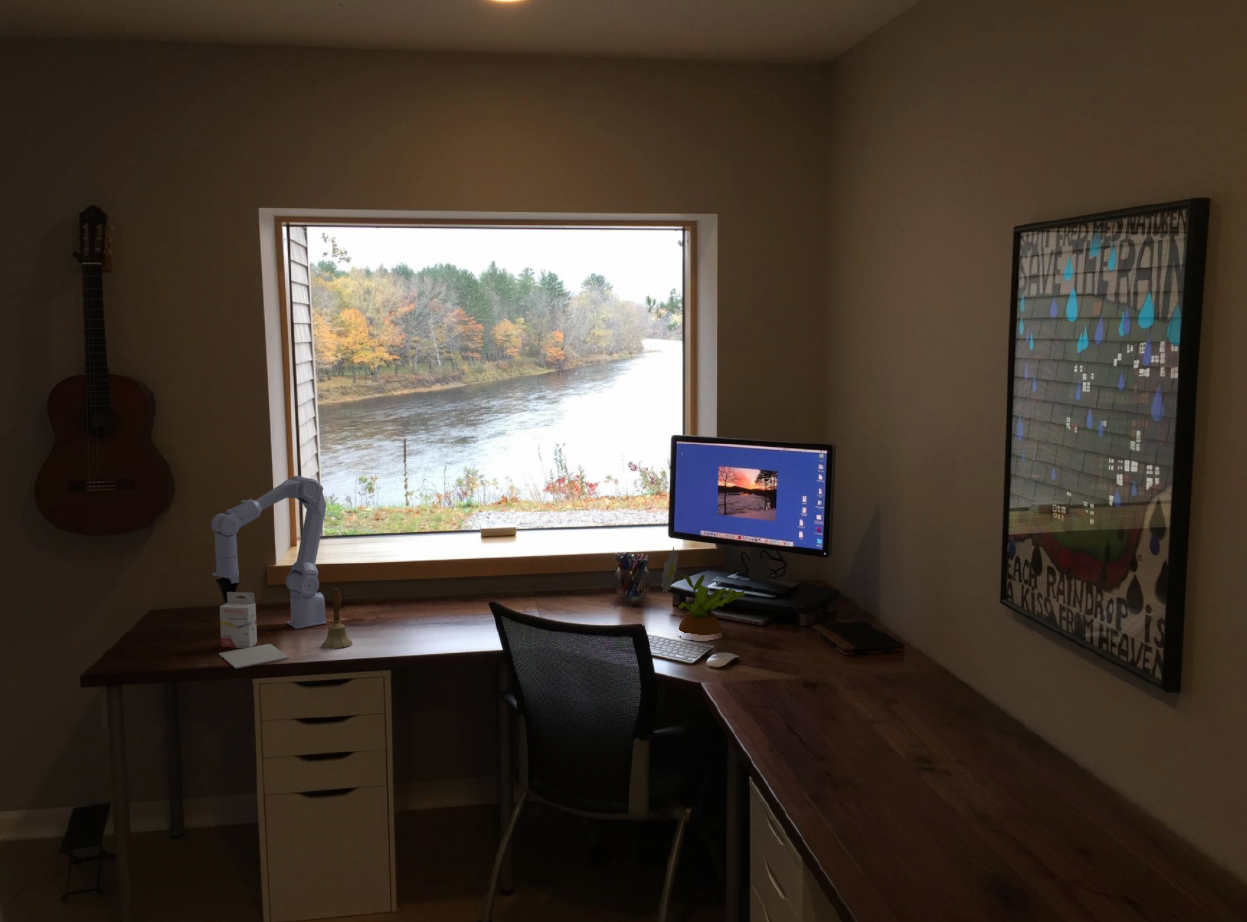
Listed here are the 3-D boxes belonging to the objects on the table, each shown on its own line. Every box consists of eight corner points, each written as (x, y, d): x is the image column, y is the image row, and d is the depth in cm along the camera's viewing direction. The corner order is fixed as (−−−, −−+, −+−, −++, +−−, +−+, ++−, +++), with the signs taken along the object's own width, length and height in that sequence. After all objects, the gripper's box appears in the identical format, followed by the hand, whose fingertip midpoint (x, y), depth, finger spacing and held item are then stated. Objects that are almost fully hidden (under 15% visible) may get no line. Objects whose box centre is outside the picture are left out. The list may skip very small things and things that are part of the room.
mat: (270, 645, 293) (270, 643, 293) (289, 658, 281) (288, 657, 281) (218, 654, 285) (218, 653, 285) (235, 668, 273) (235, 667, 273)
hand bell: (337, 638, 299) (335, 584, 297) (359, 643, 295) (356, 587, 293) (315, 646, 292) (313, 590, 290) (337, 651, 288) (334, 594, 286)
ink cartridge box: (220, 647, 291) (217, 595, 289) (228, 642, 296) (226, 591, 294) (250, 648, 290) (247, 596, 288) (258, 643, 295) (255, 592, 293)
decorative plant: (675, 620, 316) (676, 538, 313) (754, 627, 308) (755, 543, 305) (647, 645, 291) (647, 557, 288) (733, 654, 283) (733, 563, 280)
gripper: (204, 553, 300) (207, 600, 301) (219, 562, 288) (222, 611, 290) (230, 550, 304) (232, 596, 305) (245, 559, 292) (248, 606, 294)
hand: (229, 603), depth 298 cm, fingers closed
